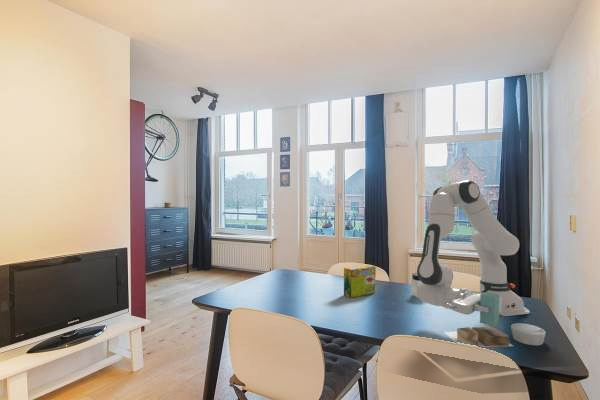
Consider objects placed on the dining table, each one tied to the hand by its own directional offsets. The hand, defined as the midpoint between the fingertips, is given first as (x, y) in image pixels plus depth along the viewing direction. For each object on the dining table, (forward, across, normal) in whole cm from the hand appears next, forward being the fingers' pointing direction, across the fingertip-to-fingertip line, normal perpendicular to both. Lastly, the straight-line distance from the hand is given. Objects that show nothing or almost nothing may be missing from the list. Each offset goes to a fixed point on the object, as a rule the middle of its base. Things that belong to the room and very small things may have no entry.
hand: (492, 307), depth 130 cm
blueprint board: (-5, -2, +14) cm, 15 cm away
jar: (-49, +37, +14) cm, 63 cm away
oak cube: (-6, -9, +13) cm, 17 cm away
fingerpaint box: (-74, +15, +14) cm, 77 cm away
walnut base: (-1, 0, +13) cm, 13 cm away
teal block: (-1, 0, +6) cm, 6 cm away
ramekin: (+9, +12, +14) cm, 20 cm away
